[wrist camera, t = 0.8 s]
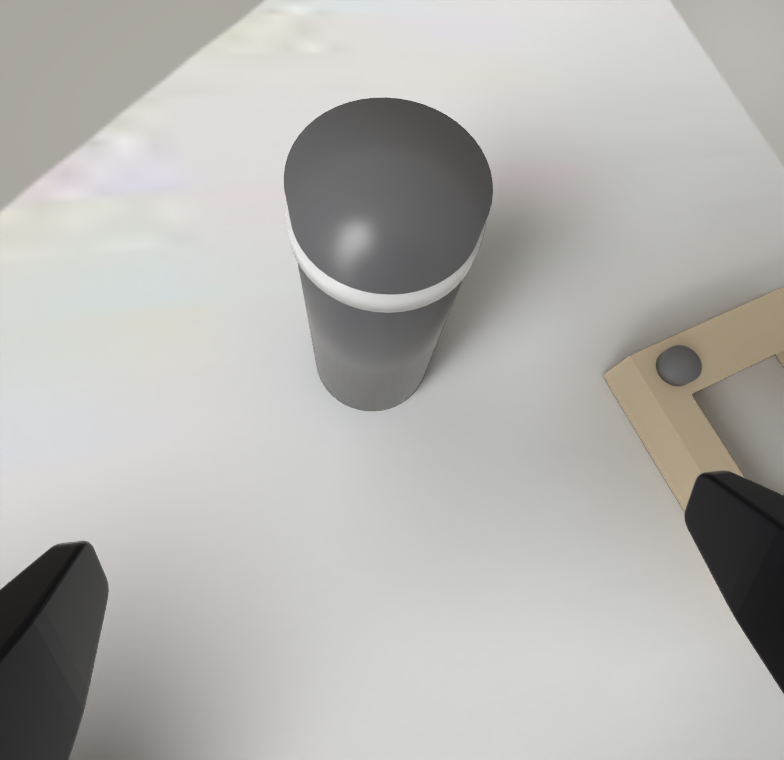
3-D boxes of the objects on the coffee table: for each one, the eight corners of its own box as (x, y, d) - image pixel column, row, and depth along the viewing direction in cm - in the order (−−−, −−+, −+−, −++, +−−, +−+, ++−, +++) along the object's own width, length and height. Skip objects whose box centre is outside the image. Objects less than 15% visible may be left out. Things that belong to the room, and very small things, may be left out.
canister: (447, 386, 24) (535, 231, 12) (341, 431, 23) (330, 308, 11) (399, 291, 25) (438, 72, 14) (296, 329, 24) (247, 128, 13)
